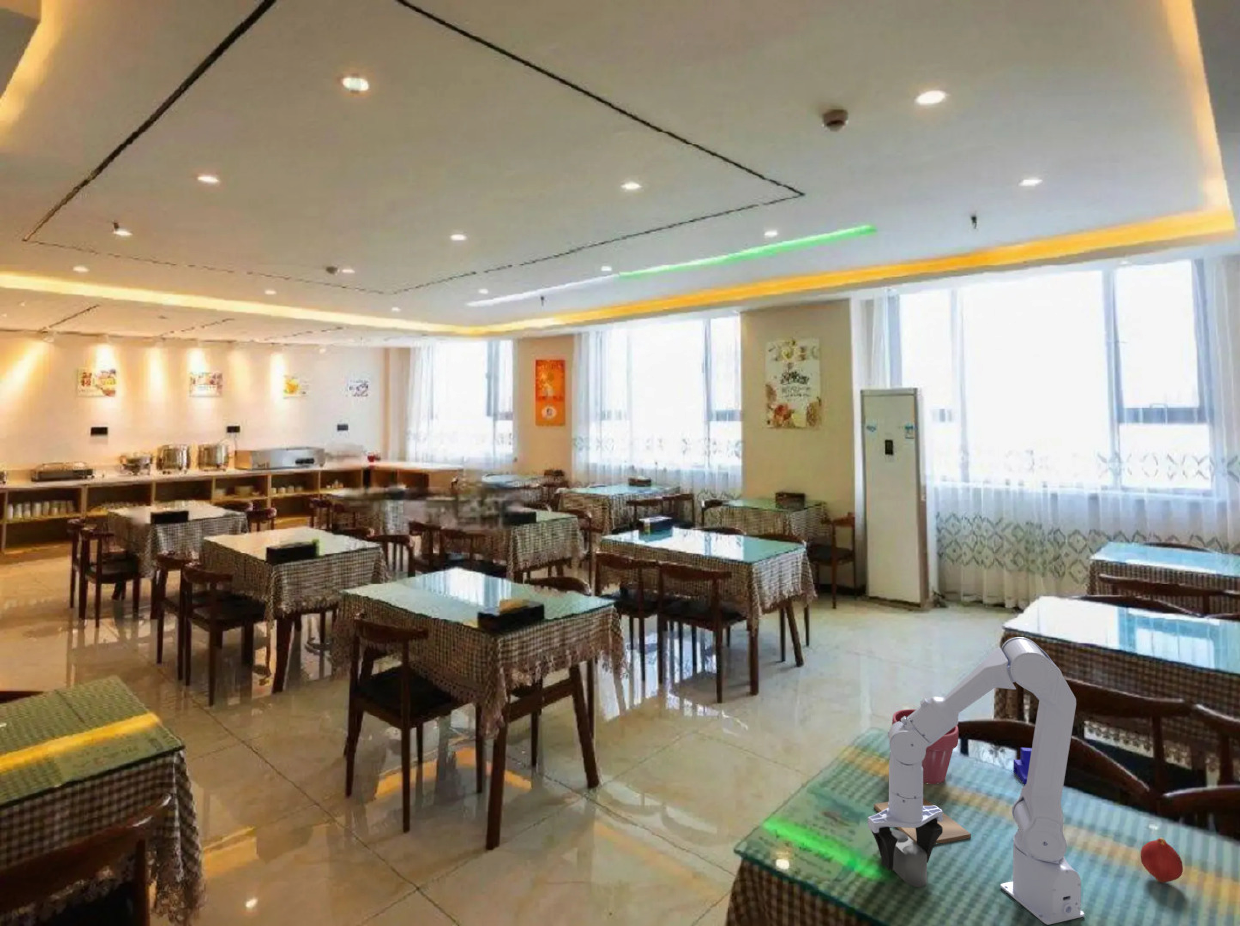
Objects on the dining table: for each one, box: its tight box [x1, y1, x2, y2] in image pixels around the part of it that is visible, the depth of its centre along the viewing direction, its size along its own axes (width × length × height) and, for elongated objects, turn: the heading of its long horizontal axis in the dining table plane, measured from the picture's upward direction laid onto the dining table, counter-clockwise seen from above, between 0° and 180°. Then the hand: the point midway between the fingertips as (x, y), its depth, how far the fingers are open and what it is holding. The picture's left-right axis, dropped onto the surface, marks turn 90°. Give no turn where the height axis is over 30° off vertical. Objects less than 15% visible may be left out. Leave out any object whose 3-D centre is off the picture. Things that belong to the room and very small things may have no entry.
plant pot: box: [891, 708, 959, 785], centre depth 152 cm, size 14×14×13 cm
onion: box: [1140, 837, 1184, 884], centre depth 115 cm, size 6×6×8 cm
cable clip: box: [1012, 747, 1032, 786], centre depth 147 cm, size 12×4×6 cm, turn 169°
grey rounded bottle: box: [890, 829, 928, 888], centre depth 119 cm, size 10×4×5 cm, turn 14°
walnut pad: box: [873, 797, 972, 845], centre depth 133 cm, size 14×12×1 cm
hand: (905, 862), depth 118 cm, fingers open, 7 cm apart
